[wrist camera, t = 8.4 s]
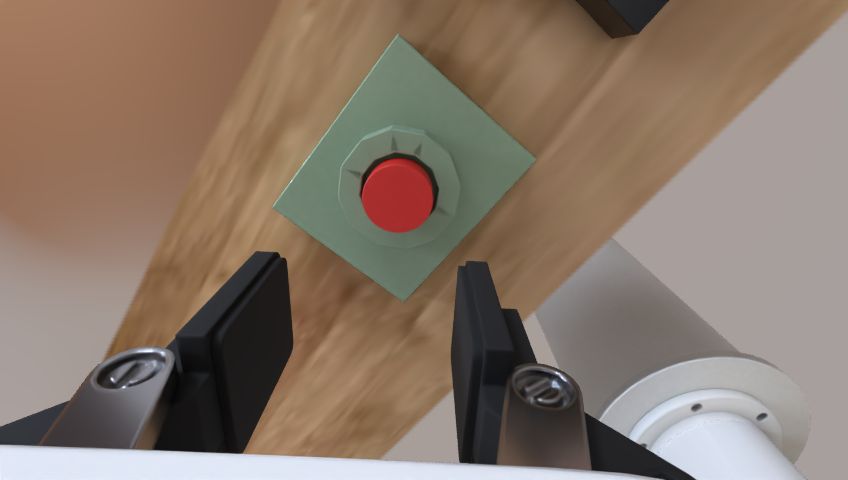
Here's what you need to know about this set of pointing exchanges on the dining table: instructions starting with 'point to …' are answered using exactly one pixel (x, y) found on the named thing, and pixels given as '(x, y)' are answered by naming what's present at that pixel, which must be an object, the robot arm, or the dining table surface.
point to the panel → (622, 14)
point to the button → (398, 195)
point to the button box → (411, 139)
